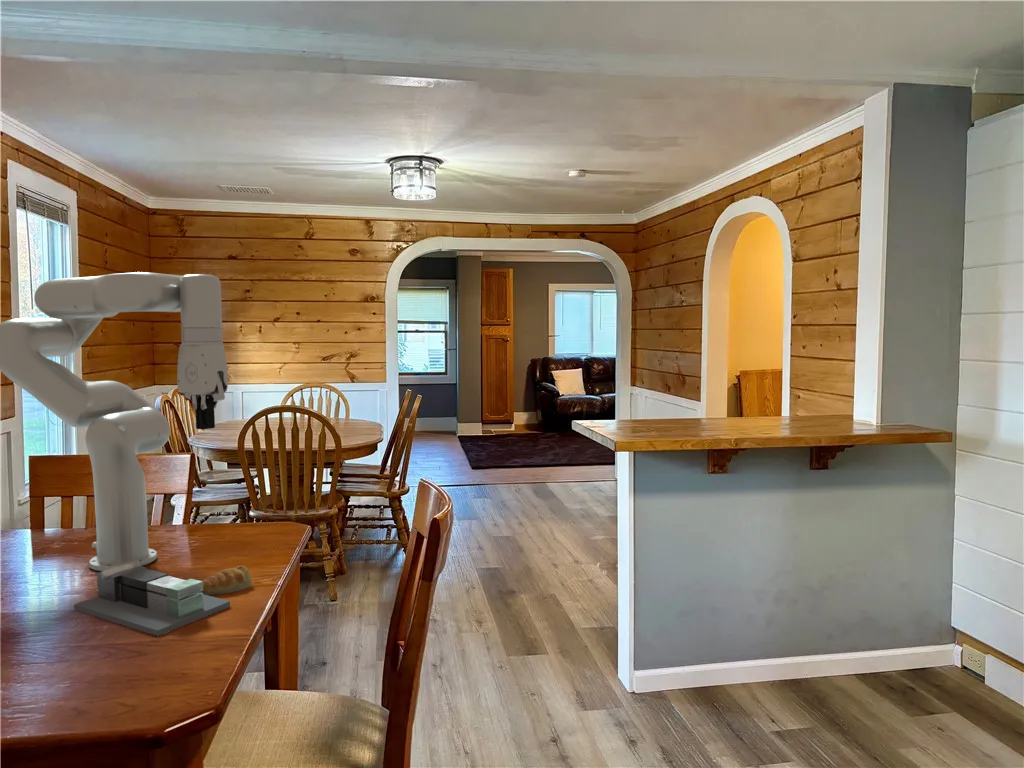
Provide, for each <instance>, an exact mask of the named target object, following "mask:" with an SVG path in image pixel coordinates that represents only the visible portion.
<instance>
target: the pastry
mask: <svg viewBox="0 0 1024 768" xmlns="http://www.w3.org/2000/svg"><path fill="white" fill-rule="evenodd" d="M202 581H203V591H200V593H203V594H204V595H208V596H209V595H211V596H215V594H218V595H225V593H227V594H230V593H234V591H235V592H238V591H243V590H246V589H249V588H251V587H252V585H253V580H252V576H251V574H250V572H249V568H247V567H246V566H245V565H237V566H236V567H227V568H224V569H221V570H220V571H218V572H215V573H214V574H213V575H209V576H207V577H206V578H204V579H202Z"/></svg>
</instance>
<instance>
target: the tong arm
mask: <svg viewBox="0 0 1024 768" xmlns="http://www.w3.org/2000/svg"><path fill="white" fill-rule="evenodd" d="M120 583H122V584H126V585H129V586H133V587H137V588H141V589H144V590H146V589H147V590H151V591H154V592H158V593H162V594H166V595H167V597H170V598H173V599H177V600H179V599H182V598H184V597H187V596H190V595H192V594H195V593H198V592H200V591H203V580H198V579H194V578H188V579H182V578H178V577H174V576H171V575H169V574H168V573H164V572H160V571H157V570H152V569H149V568H146V569H145V568H142V569H139V570H135V571H132V572H129V573H126V574H123V575H120Z"/></svg>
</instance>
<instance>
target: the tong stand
mask: <svg viewBox="0 0 1024 768" xmlns="http://www.w3.org/2000/svg"><path fill="white" fill-rule="evenodd" d="M142 568H145V569H147V567H146V566H141V563H140V561H139V560H136V561H133V562H130V563H126V564H123V565H120V566H116V567H113V568H110V569H107V570H103V571H99V572H97V573H96V574H97V575H96V577H97V580H96V581H97V594H98V596H97V597H99V598H103V599H106V600H109V601H113V602H118V601H120V600H121V601H122V602H125V603H129V604H132V605H136V606H139V607H142V608H148V609H152V610H155V611H158V612H162V613H165V614H167V616H170V617H174V618H177V619H180V618H183V617H185V616H188V615H190V614H193V613H195V612H198V611H200V610H203V609H204V602H203V593H200V592H198V593H195V594H192V595H190V596H187V597H184V598H182V599H179V600H177V599H173V598H170V597H167V595H166V594H162V593H158V592H154V591H151V590H147V589H146V590H144V589H141V588H137V587H133V586H129V585H126V584H122V583H120V575H123V574H126V573H129V572H132V571H135V570H139V569H142Z"/></svg>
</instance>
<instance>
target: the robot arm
mask: <svg viewBox="0 0 1024 768" xmlns="http://www.w3.org/2000/svg"><path fill="white" fill-rule="evenodd" d="M221 285H222V283H221V280H220V279H219V277H218V276H216V275H214V274H213V275H212V274H205V273H204V274H202V273H199V274H197V273H194V274H193V273H192V274H191V273H190V274H184V275H178V274H177V275H176V274H169V273H168V274H167V273H159V272H158V273H157V272H149V271H148V272H147V271H145V272H143V271H141V272H140V271H137V272H136V271H135V272H124V273H123V272H122V273H109V274H103V275H96V276H95V275H94V276H82V277H81V276H80V277H79V276H78V277H77V276H76V277H65V278H63V277H62V278H55V279H51V280H46V281H45V282H43V283H42V284H40V285H38V287H37V289H36V290H35V293H34V299H33V300H34V303H35V306H36V307H37V308H38V310H39V311H40V312H41V313H42V314H43V315H46V316H48V317H18V318H17V317H16V318H12V319H7V320H5V321H2V322H0V372H1V373H2V374H3V375H4V376H5V377H6V378H8V379H9V380H10V381H11V382H13V383H14V384H16V385H17V386H18V387H20V388H21V389H23V390H25V392H26V393H28V394H29V395H31V396H32V397H34V398H35V399H36V400H37V401H38V402H39V403H40V404H41V405H42V406H44V407H45V408H47V409H48V410H49V411H50V412H52V413H53V414H54V415H55V416H57V418H59V419H60V420H61V421H63V422H64V423H65V424H67V425H69V426H70V427H73V428H80V429H83V428H87V429H86V432H85V437H84V438H85V444H86V449H87V453H88V455H89V460H90V464H91V471H92V478H93V479H92V480H93V493H94V509H95V510H94V513H95V531H96V533H95V534H96V540H95V541H94V542H92V543H91V547H92V549H96V555H95V556H93V557H92V558H91V559H89V561H88V564H89V565H88V566H89V568H90V569H92V570H94V571H99V572H102V571H103V570H107V569H110V568H113V567H116V566H120V565H123V564H126V563H130V562H133V561H136V560H139V561H140V563H141V566H142V567H144V566H146V565H149V564H151V563H152V562H153V563H154V562H155V561H156V560H157V558H158V551H156V550H155V549H154V548H149V532H148V531H149V529H148V528H149V527H148V506H147V488H146V485H147V484H146V476H145V472H144V470H143V466H142V465H141V464H140V462H139V459H138V457H137V456H138V455H141V454H146V453H150V452H153V451H155V450H159V449H161V448H162V447H163V446H164V445H165V444H167V442H168V441H169V438H170V435H171V426H170V424H169V423H170V422H169V421H168V419H167V417H166V416H165V415H164V414H163V413H162V412H161V410H160V409H158V407H156V406H154V405H153V404H152V403H150V402H149V401H148V400H147V399H145V398H144V397H143V396H141V395H140V393H138V392H137V391H135V390H134V389H132V388H131V387H130V386H128V385H127V384H124V383H122V382H120V381H115V380H99V381H98V380H96V381H87V380H84V379H83V378H80V377H79V376H78V375H76V374H75V373H74V372H72V371H71V370H70V369H69V368H67V367H66V366H65V365H62V364H61V363H59V362H56V361H55V360H52V359H49V358H51V357H53V358H54V357H65V356H68V355H72V354H73V353H75V352H77V351H78V350H79V349H80V347H82V345H83V344H84V343H85V342H86V341H87V339H88V338H89V337H90V336H91V334H92V333H93V332H94V331H95V330H96V328H97V327H98V326H99V325H100V323H101V322H102V320H103V319H104V318H112V317H115V316H116V315H118V314H119V313H131V312H135V313H136V312H158V313H159V312H161V313H163V312H165V313H180V327H181V330H180V331H181V344H180V345H179V349H178V356H177V357H178V358H177V374H176V375H177V376H176V377H177V379H176V380H177V381H176V382H177V383H176V384H177V390H178V392H179V393H181V394H184V398H185V399H188V400H190V401H191V403H192V407H193V409H194V410H195V411H194V413H195V428H196V430H203V431H204V430H209V429H214V428H215V427H216V421H215V418H216V416H215V415H216V414H215V409H217V403H218V402H220V401H223V400H225V398H226V397H225V396H226V395H225V393H226V392H227V391H228V387H229V377H228V376H229V374H228V365H227V364H228V363H227V356H226V352H225V351H226V350H225V346H224V342H223V341H224V339H223V311H222V310H223V309H222V307H223V306H222V286H221Z"/></svg>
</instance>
